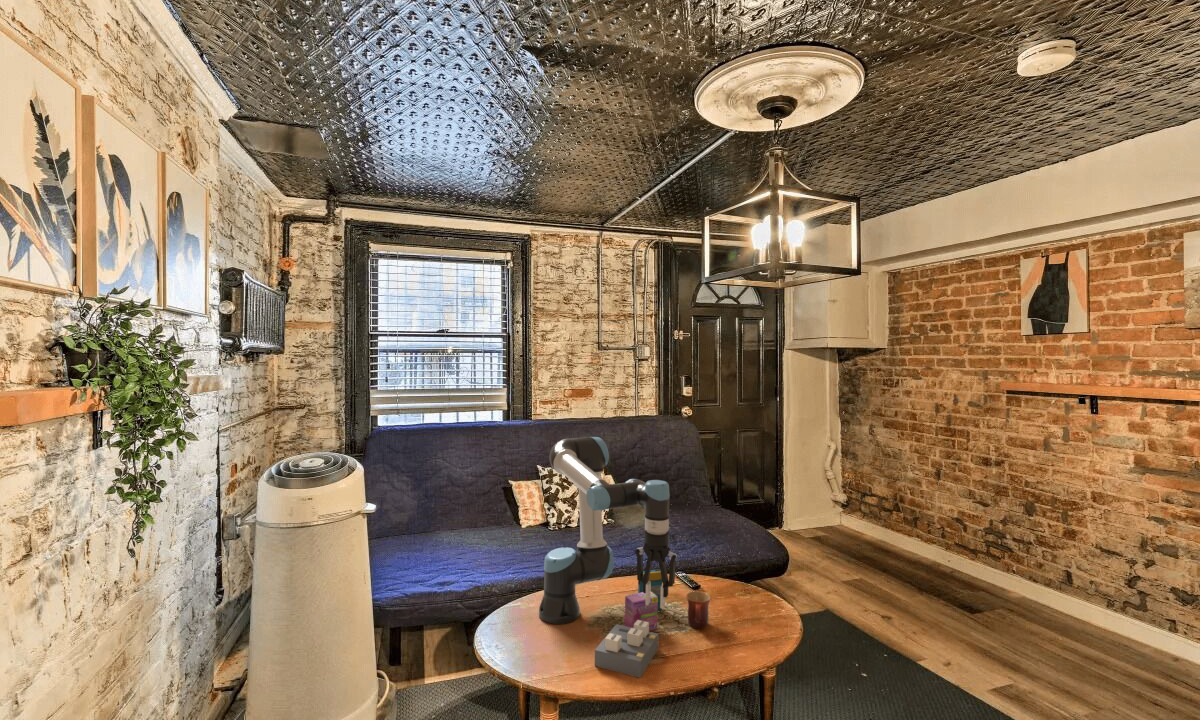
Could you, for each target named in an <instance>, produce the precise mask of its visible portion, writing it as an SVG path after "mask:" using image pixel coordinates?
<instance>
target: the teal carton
mask: <svg viewBox="0 0 1200 720" xmlns="http://www.w3.org/2000/svg"><path fill="white" fill-rule="evenodd" d="M644 573H645V570H643V576H644ZM637 581H638V582H637V586H638V587H637V591H638V592H637V593H641V592H643V582H642V581H639V580H637ZM648 581H650V582H651V592H652V593H654V594H655V595H656V596H658V605H657V613H659V612H658V611H661V612H662V611H663V609H662V608H660V596H661V586H662V585H663V583H662V577H661V572H660V568H659V569H658V568H657V569H651V571H650V575H649V580H648Z"/></svg>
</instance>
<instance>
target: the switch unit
mask: <svg viewBox="0 0 1200 720" xmlns="http://www.w3.org/2000/svg"><path fill="white" fill-rule="evenodd" d="M630 629H631V627H627V626H625V625H622V624H615V625H614V626H613V627H612V629H611V630H610V631H609V632H608V633H607V635H606V636H605V637H604V638H603V639H602V641H601V642H599V645H597V647H596V648H595V650H594V667H596V668H597V667H598V668H600V669H605V670H609V671H613V672H616V673H620V674H625V675H626V676H627V675H628V676H631V677H634V678H639V679H641V677H643V674H644V673H645V672H646V670H647V668H648V667H649V665H650V664H651V661H652V660H653V658H654V656H655V655H656V654H657V651H658V650H659V633H656V632H652V631H649V633H648V635H647V636H646V638H643V642H642V643H641V645H640V646H639V647H637V646H633V645H629V644H627V633H628V632H629V630H630ZM610 633H611V634H616V635H620V636H622V647H621V648H620V650H619V651H618V652H613V651H609V650H605V640H606V637H607V636H608V635H609V634H610Z"/></svg>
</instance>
